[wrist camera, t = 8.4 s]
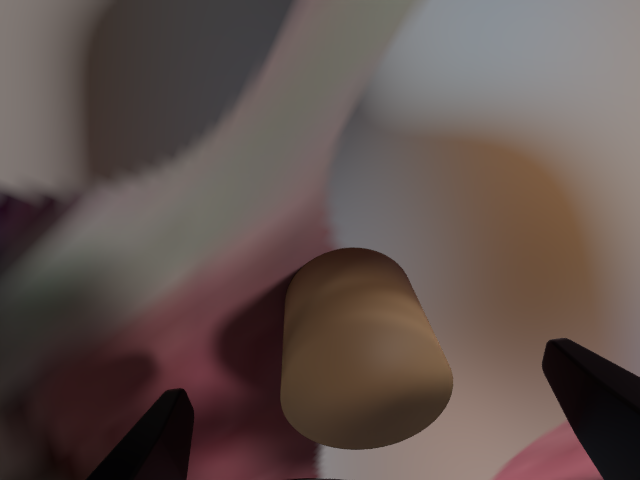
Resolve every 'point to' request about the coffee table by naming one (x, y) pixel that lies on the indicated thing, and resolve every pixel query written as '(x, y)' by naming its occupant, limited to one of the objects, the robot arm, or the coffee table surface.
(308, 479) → the groove tray
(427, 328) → the bead
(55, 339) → the coffee table surface
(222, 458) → the coffee table surface
